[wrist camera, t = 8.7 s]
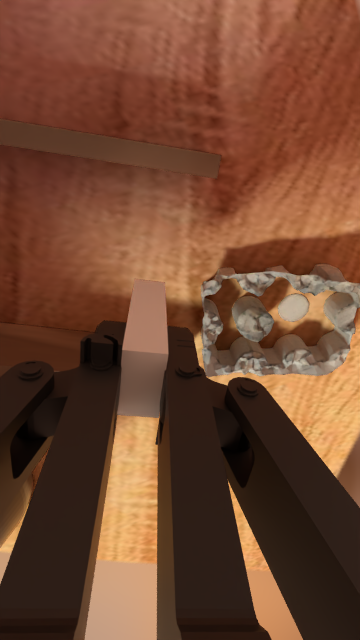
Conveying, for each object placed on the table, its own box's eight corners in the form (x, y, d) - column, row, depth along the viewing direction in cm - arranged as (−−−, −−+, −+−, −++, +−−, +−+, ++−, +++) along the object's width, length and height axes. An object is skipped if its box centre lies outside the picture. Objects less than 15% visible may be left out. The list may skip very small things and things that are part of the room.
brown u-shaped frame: (175, 352, 26) (177, 395, 22) (-20, 331, 25) (-62, 372, 20) (209, 152, 20) (221, 155, 15) (-52, 109, 18) (-122, 98, 14)
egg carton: (352, 259, 23) (386, 280, 20) (328, 351, 27) (353, 383, 23) (199, 258, 23) (206, 279, 19) (195, 351, 26) (199, 384, 23)
